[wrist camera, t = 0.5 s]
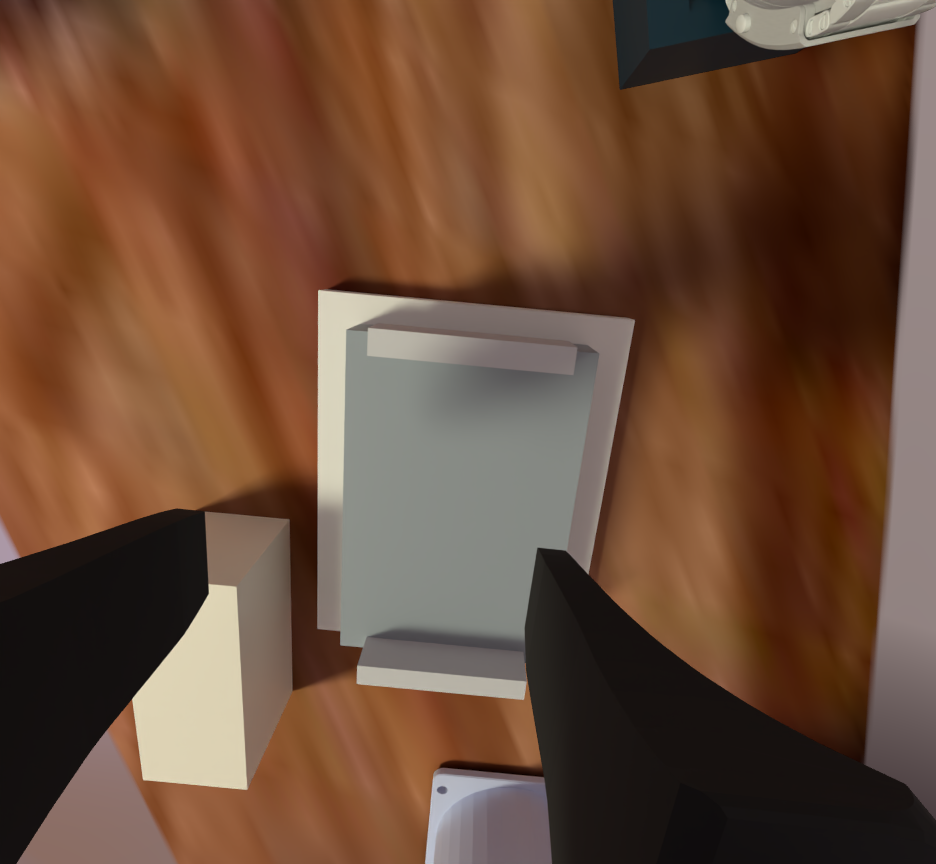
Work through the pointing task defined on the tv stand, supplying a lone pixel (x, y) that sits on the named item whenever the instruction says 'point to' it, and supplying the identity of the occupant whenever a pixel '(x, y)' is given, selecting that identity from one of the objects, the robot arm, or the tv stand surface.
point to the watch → (739, 31)
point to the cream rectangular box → (224, 663)
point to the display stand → (455, 476)
